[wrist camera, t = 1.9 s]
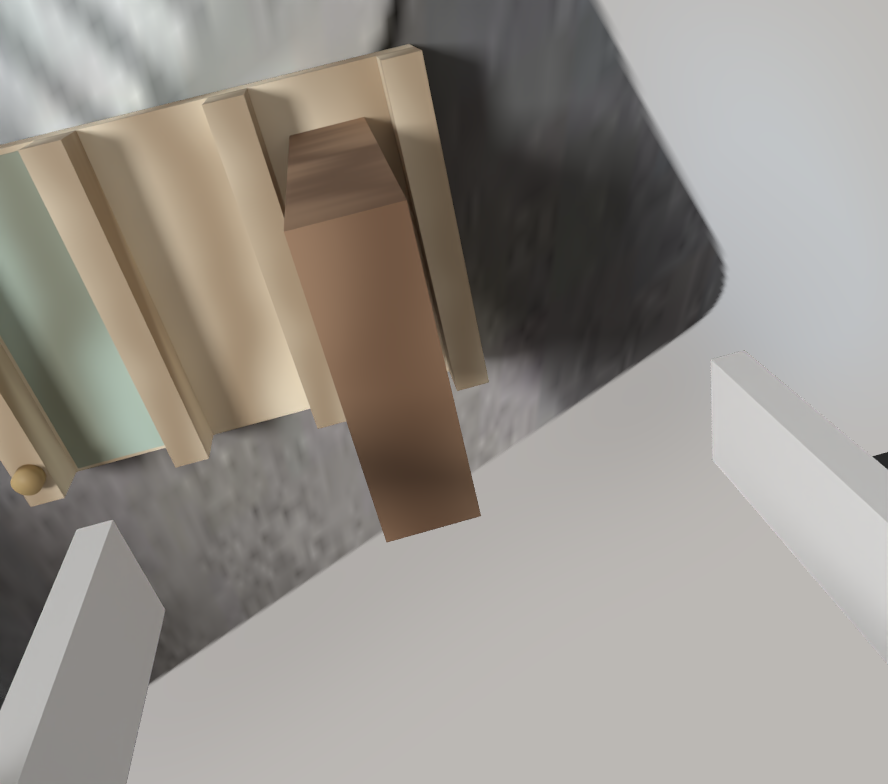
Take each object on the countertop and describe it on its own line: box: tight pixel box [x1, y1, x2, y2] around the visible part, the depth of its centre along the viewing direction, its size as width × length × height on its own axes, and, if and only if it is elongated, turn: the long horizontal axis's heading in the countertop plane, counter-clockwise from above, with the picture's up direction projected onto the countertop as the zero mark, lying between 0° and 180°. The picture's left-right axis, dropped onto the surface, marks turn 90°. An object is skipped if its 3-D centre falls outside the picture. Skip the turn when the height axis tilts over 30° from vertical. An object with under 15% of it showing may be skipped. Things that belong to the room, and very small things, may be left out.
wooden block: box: [284, 117, 481, 542], centre depth 25 cm, size 3×10×13 cm, turn 12°
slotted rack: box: [0, 44, 489, 507], centre depth 30 cm, size 21×14×4 cm, turn 102°
